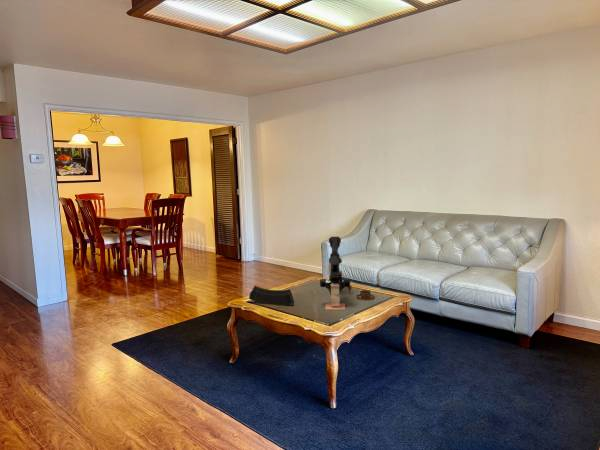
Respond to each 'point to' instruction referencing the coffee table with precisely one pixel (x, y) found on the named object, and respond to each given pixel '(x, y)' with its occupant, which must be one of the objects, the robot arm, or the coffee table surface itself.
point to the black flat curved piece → (271, 296)
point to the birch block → (334, 294)
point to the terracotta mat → (335, 307)
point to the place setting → (363, 294)
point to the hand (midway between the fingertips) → (335, 295)
